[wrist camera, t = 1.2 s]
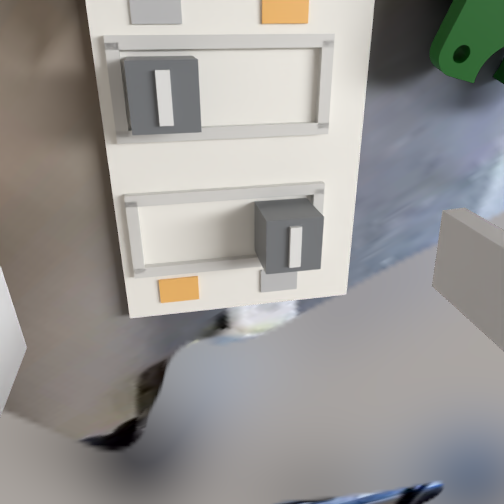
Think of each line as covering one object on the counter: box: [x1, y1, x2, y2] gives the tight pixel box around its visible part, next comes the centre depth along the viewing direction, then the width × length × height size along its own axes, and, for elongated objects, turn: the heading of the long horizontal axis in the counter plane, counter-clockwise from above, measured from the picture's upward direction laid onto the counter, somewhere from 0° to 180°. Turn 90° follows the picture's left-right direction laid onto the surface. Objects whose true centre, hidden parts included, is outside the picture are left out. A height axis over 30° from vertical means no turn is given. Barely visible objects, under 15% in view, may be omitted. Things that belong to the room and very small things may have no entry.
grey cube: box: [255, 198, 324, 274], centre depth 34 cm, size 4×4×4 cm
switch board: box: [85, 0, 375, 318], centre depth 33 cm, size 24×18×2 cm
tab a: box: [124, 56, 202, 135], centre depth 28 cm, size 4×4×4 cm
